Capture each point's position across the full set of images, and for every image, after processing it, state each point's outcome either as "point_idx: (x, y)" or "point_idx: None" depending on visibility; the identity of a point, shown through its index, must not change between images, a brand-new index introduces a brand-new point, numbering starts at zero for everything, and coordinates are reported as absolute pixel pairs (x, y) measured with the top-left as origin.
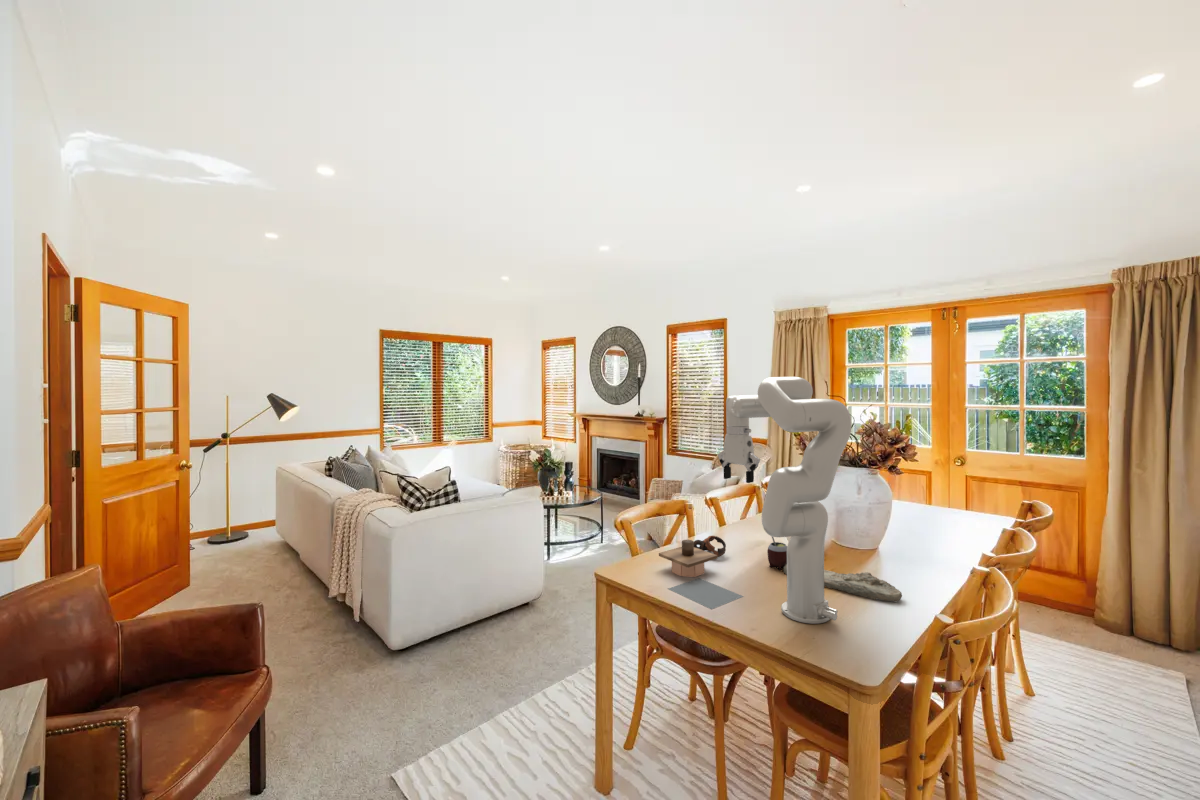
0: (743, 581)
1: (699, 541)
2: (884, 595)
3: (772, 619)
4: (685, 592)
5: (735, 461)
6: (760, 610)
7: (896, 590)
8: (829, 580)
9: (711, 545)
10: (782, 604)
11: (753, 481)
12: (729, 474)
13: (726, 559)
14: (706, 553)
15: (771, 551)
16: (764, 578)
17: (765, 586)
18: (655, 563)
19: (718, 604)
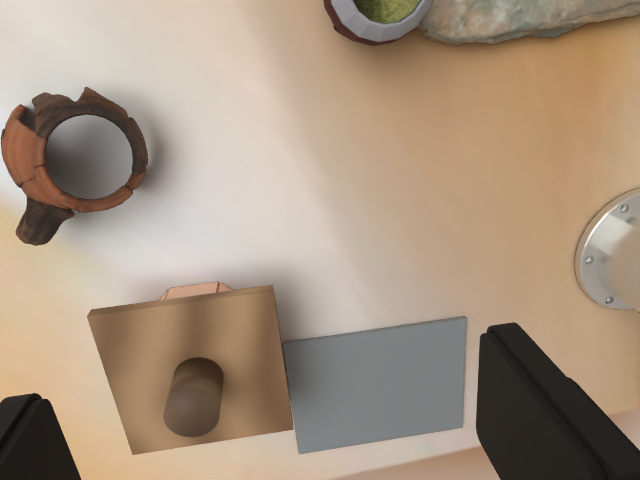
0: (380, 234)
1: (45, 228)
2: None
3: (587, 338)
4: (347, 429)
5: None
6: (540, 330)
7: None
8: (636, 5)
9: (112, 202)
10: (584, 282)
11: (515, 325)
12: (33, 477)
13: (161, 125)
14: (229, 314)
15: (378, 42)
16: (406, 149)
17: (454, 202)
18: (76, 386)
19: (455, 401)
